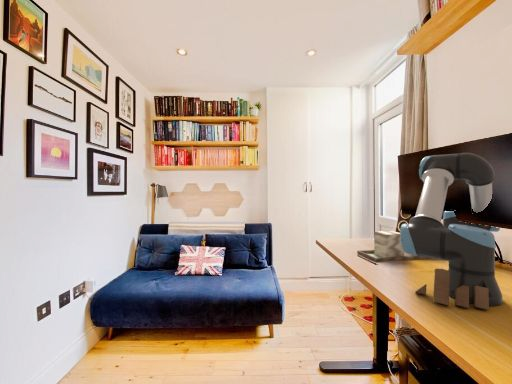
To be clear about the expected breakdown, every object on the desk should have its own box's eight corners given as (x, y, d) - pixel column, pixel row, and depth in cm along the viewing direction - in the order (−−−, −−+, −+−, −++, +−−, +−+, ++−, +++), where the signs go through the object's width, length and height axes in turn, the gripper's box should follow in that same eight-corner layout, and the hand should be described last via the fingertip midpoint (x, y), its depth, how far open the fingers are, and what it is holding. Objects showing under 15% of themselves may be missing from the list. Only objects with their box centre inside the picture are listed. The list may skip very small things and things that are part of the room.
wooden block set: (486, 315, 73) (485, 281, 76) (491, 316, 67) (491, 278, 69) (415, 297, 84) (417, 267, 87) (414, 296, 77) (416, 264, 80)
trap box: (375, 264, 115) (375, 258, 115) (357, 256, 129) (357, 250, 129) (453, 259, 122) (453, 253, 122) (427, 252, 137) (427, 246, 137)
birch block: (386, 258, 119) (386, 234, 119) (374, 254, 128) (374, 231, 128) (404, 257, 121) (404, 233, 121) (391, 253, 130) (391, 230, 129)
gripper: (447, 250, 123) (407, 252, 119) (425, 244, 136) (388, 246, 132) (447, 235, 123) (407, 237, 119) (425, 231, 136) (388, 232, 132)
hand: (397, 241), depth 126 cm, fingers closed
